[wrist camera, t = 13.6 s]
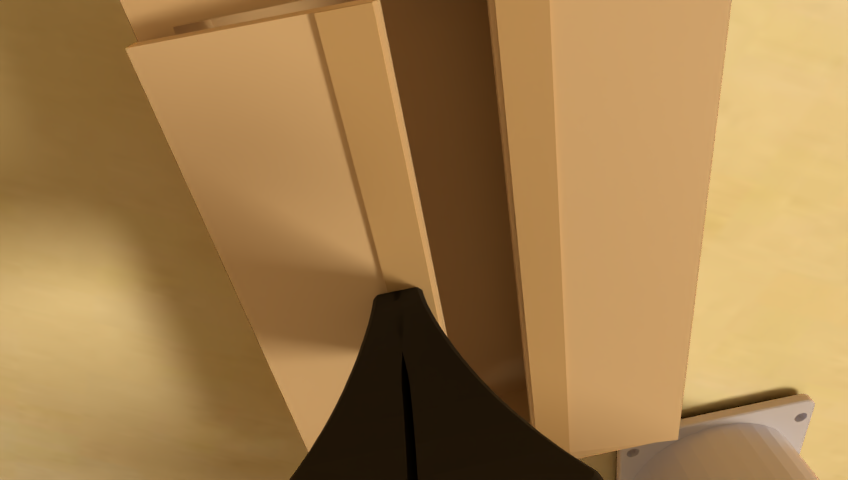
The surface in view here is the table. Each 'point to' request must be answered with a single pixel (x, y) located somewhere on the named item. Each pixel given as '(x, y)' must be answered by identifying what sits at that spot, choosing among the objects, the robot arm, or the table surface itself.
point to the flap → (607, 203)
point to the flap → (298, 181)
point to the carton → (430, 161)
